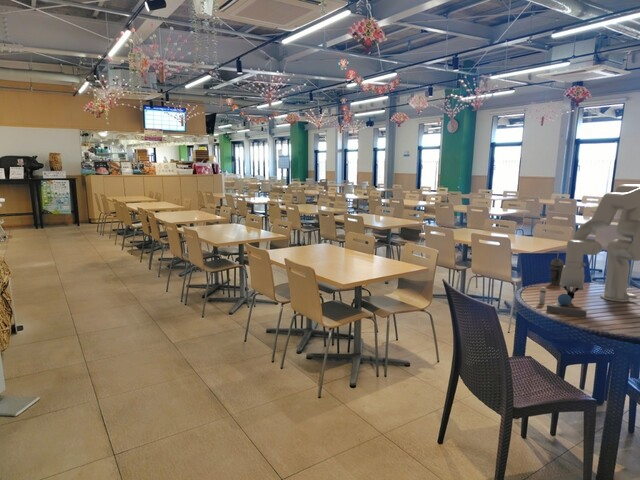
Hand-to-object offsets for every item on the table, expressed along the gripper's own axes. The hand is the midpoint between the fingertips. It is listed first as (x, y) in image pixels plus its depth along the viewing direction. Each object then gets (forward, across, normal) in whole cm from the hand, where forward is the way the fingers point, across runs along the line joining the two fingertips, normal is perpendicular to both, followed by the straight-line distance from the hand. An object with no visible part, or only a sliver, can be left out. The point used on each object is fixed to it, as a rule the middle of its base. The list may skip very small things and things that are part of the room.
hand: (570, 299), depth 220 cm
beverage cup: (+2, +12, -37) cm, 39 cm away
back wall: (+2, -1, +23) cm, 23 cm away
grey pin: (+2, +11, +12) cm, 16 cm away
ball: (-2, +2, +8) cm, 8 cm away
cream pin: (0, +4, +13) cm, 13 cm away
